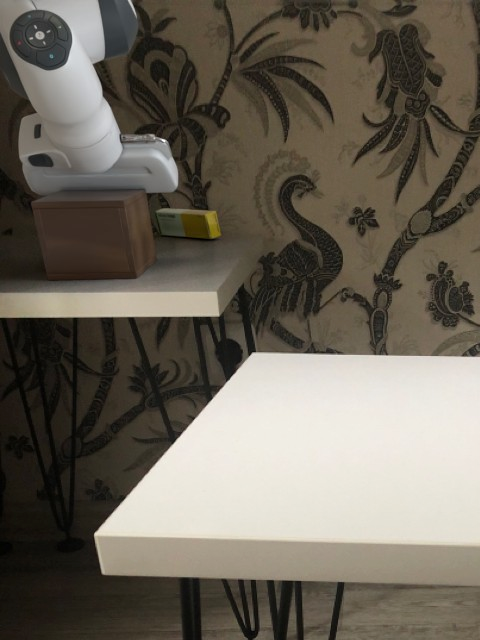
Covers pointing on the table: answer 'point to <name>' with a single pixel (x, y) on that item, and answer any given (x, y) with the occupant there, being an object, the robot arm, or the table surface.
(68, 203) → the wooden box
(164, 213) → the medication box
